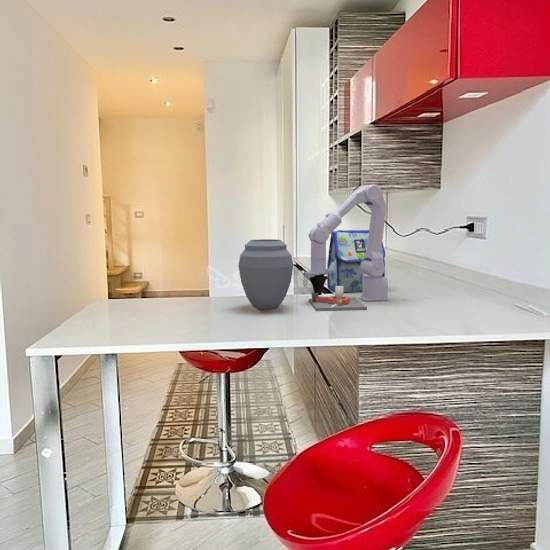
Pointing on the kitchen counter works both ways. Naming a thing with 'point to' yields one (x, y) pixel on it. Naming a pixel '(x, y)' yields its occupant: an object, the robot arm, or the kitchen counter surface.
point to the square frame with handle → (329, 299)
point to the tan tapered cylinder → (339, 302)
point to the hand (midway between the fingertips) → (318, 294)
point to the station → (326, 306)
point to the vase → (265, 272)
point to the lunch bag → (348, 259)
